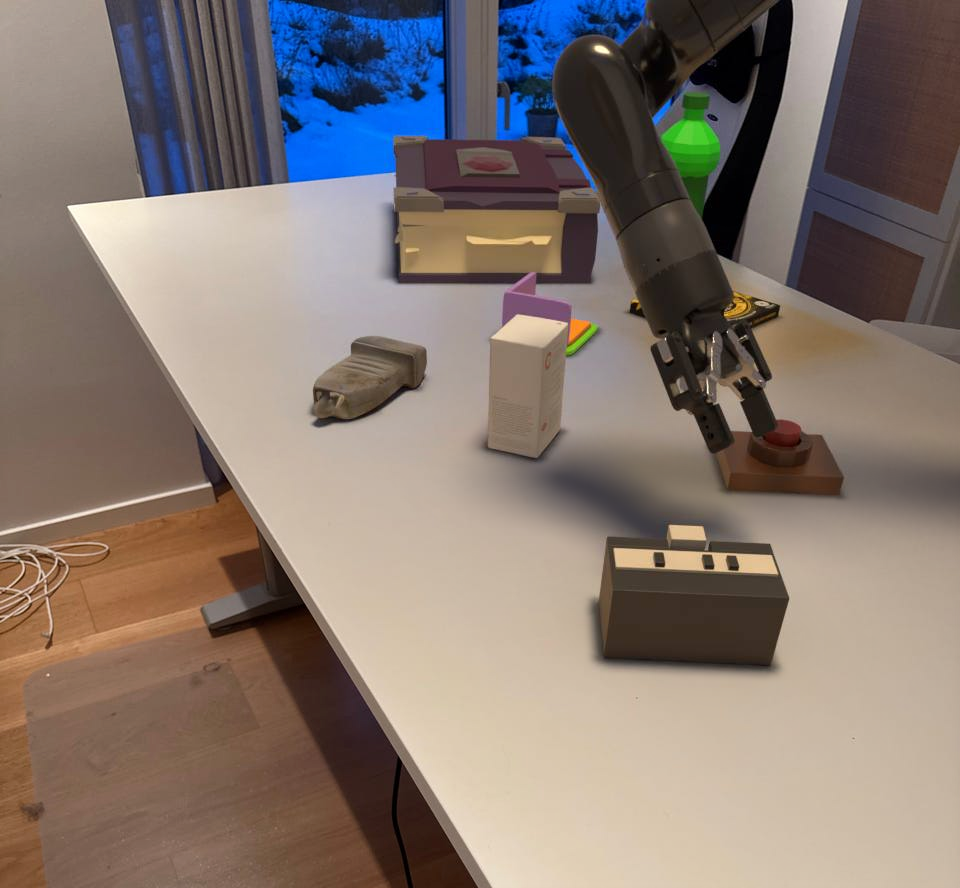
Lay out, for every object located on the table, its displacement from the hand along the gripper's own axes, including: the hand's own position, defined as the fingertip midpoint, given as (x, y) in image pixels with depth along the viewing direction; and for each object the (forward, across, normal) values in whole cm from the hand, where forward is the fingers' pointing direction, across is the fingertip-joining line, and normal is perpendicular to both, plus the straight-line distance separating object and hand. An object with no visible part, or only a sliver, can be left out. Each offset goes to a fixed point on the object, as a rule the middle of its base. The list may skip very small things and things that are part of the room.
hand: (746, 441), depth 84 cm
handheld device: (-26, +4, +47) cm, 53 cm away
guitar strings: (-22, +59, +29) cm, 70 cm away
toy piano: (+13, -9, +8) cm, 18 cm away
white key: (+7, -7, +6) cm, 11 cm away
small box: (-12, +9, +30) cm, 33 cm away
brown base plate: (+3, +22, +10) cm, 25 cm away
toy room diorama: (-27, +36, +40) cm, 61 cm away
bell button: (+1, +22, +7) cm, 23 cm away
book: (-54, +63, +63) cm, 104 cm away
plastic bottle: (-38, +80, +40) cm, 98 cm away
